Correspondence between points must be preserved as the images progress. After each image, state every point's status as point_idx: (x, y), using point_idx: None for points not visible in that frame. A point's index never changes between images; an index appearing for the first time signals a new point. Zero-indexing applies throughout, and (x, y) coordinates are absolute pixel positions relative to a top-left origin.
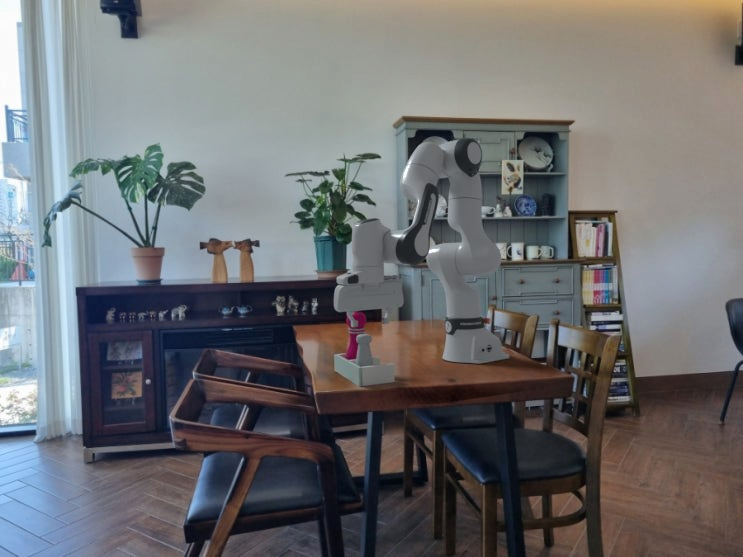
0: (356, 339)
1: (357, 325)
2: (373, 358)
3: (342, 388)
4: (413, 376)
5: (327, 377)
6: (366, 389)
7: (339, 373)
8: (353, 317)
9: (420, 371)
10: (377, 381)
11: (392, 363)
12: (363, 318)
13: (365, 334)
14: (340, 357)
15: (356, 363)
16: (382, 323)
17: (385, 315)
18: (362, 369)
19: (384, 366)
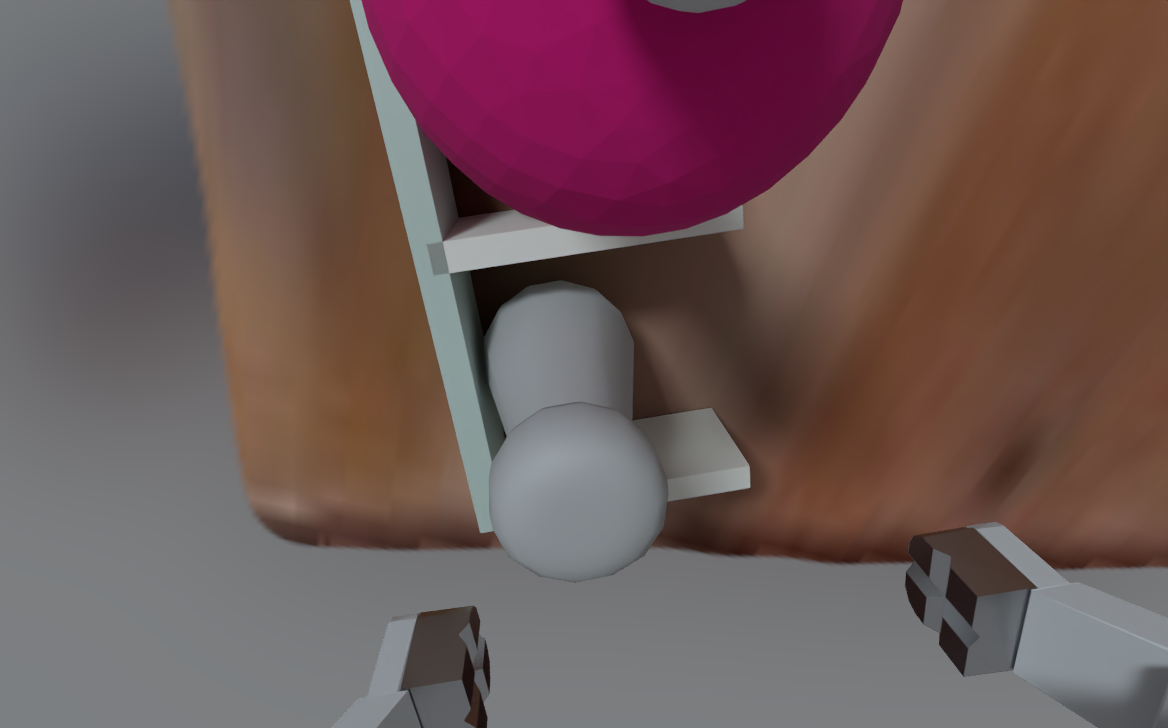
0: (489, 482)
1: (481, 687)
2: (682, 237)
3: (384, 475)
4: (877, 331)
5: (292, 165)
6: None
7: None
8: (508, 197)
9: (993, 211)
10: None
11: (748, 466)
12: (760, 191)
13: (598, 537)
14: (378, 80)
15: (492, 390)
16: (911, 552)
17: (1073, 629)
18: None
19: (673, 494)
